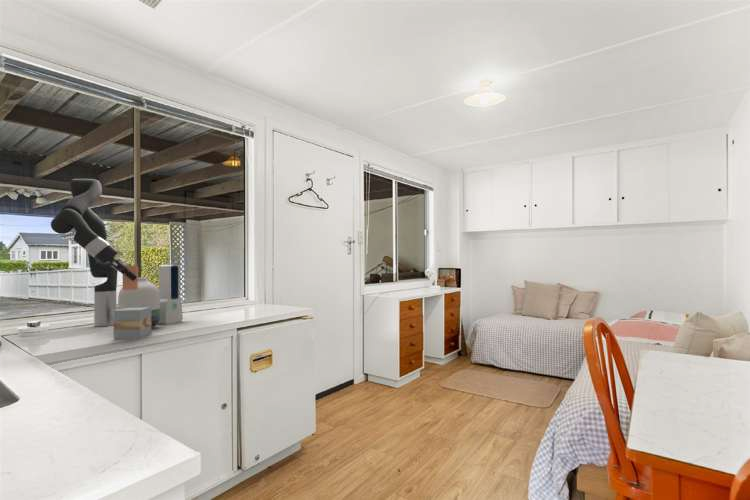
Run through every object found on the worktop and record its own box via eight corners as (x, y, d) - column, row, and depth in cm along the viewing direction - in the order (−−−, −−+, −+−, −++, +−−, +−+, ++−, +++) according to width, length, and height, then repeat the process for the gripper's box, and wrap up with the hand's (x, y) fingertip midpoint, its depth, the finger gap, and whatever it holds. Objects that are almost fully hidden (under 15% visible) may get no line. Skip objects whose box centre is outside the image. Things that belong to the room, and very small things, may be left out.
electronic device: (166, 324, 193) (165, 264, 194) (153, 324, 194) (152, 265, 195) (183, 321, 205) (182, 264, 206) (170, 320, 206) (170, 264, 207)
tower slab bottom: (126, 335, 167) (126, 326, 167) (151, 334, 168) (151, 325, 168) (113, 340, 157) (113, 330, 157) (140, 339, 158) (140, 329, 158)
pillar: (124, 289, 163) (124, 265, 164) (137, 289, 166) (137, 265, 166) (122, 290, 159) (122, 265, 159) (136, 289, 161) (136, 265, 161)
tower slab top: (126, 317, 167) (126, 307, 167) (151, 316, 168) (151, 307, 169) (114, 320, 157) (114, 310, 157) (140, 319, 159) (140, 309, 159)
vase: (124, 327, 188) (124, 277, 189) (163, 324, 193) (163, 276, 194) (112, 333, 172) (112, 279, 173) (155, 330, 177) (155, 277, 178)
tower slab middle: (127, 326, 167) (127, 317, 167) (151, 325, 168) (151, 316, 168) (113, 330, 157) (113, 320, 157) (139, 329, 158) (139, 319, 158)
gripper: (106, 243, 153) (141, 272, 158) (111, 245, 166) (144, 272, 171) (90, 256, 150) (126, 286, 156) (96, 257, 163) (130, 284, 168)
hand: (135, 278), depth 163 cm, fingers closed on pillar, 5 cm apart
